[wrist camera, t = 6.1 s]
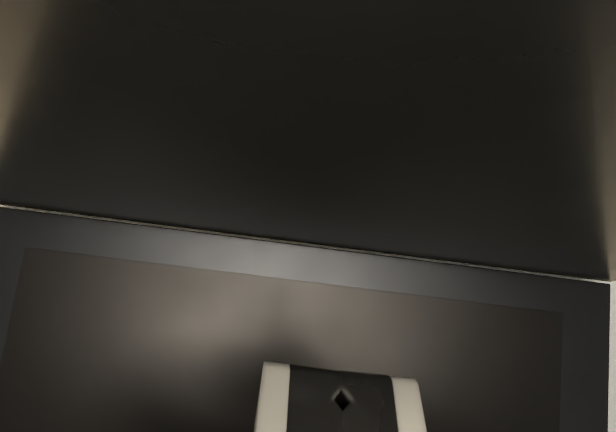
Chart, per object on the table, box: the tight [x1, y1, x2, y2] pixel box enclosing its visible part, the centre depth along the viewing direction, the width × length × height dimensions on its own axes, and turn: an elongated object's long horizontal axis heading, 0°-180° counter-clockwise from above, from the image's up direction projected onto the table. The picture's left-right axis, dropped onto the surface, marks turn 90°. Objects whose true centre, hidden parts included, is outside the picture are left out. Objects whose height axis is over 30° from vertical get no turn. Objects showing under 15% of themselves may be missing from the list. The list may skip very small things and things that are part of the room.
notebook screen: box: [0, 0, 616, 282], centre depth 15 cm, size 21×30×1 cm
